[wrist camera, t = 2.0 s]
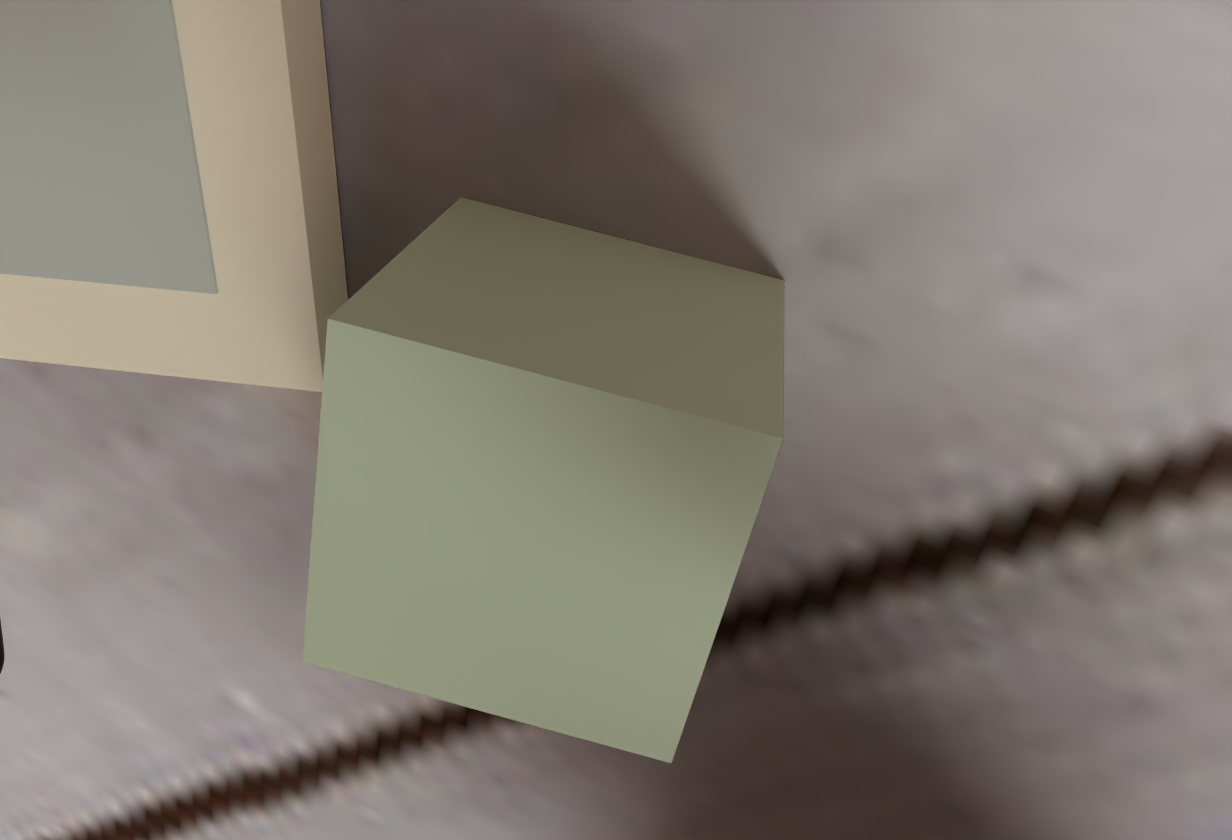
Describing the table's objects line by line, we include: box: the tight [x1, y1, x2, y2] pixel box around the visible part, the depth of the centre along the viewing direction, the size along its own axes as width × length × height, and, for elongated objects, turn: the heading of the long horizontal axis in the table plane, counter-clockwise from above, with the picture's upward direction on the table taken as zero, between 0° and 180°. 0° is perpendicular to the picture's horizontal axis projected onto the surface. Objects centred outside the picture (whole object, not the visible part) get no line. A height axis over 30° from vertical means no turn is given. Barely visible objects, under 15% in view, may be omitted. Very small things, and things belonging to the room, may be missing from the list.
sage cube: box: [302, 197, 784, 763], centre depth 14 cm, size 5×5×5 cm
